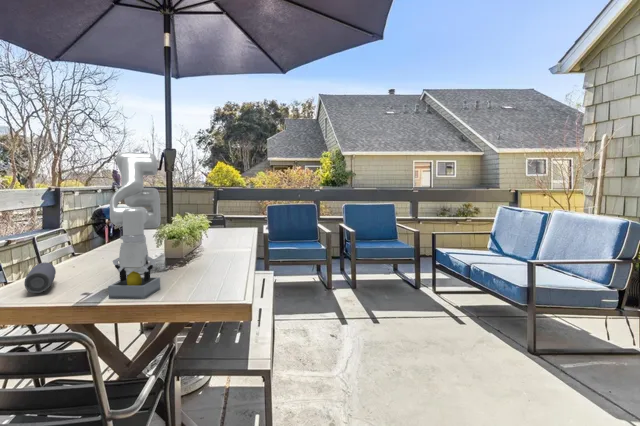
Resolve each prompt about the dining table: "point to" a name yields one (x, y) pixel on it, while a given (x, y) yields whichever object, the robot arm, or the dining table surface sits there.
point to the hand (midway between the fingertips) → (135, 280)
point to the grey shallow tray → (134, 289)
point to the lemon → (134, 279)
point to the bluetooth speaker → (40, 278)
